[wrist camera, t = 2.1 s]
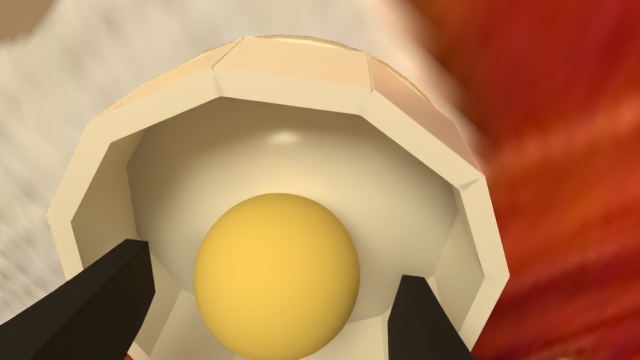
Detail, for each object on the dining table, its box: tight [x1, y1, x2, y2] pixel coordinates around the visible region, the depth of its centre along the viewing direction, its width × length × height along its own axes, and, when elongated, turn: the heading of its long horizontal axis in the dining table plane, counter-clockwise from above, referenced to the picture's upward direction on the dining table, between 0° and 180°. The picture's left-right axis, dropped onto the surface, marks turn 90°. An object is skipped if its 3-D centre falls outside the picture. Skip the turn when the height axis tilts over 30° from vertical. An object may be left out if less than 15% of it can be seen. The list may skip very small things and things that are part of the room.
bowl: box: [47, 35, 509, 360], centre depth 13 cm, size 12×12×4 cm
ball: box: [194, 193, 360, 360], centre depth 12 cm, size 5×5×5 cm
